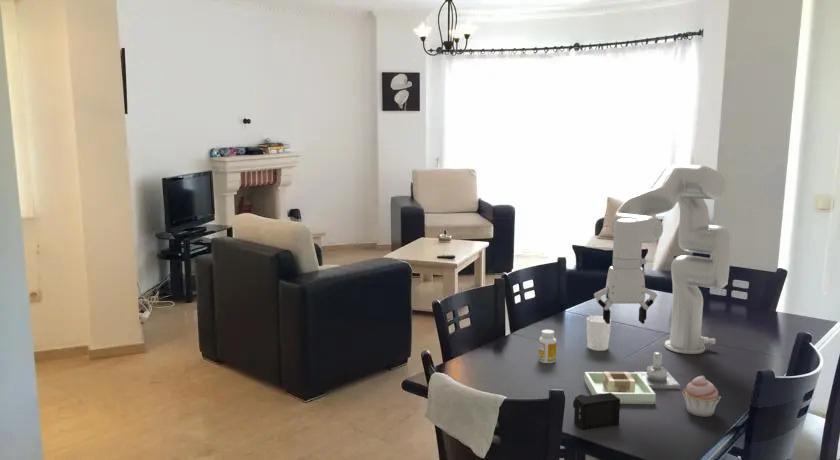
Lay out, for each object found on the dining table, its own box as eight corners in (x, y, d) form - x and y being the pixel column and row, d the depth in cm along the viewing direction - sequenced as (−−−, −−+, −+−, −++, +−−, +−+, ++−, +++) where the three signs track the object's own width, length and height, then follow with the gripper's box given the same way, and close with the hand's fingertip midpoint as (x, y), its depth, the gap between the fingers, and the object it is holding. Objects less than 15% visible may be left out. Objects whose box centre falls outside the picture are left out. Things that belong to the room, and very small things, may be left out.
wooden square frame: (602, 384, 189) (603, 371, 189) (627, 385, 189) (628, 371, 188) (610, 397, 181) (611, 383, 180) (636, 397, 181) (637, 383, 180)
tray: (637, 381, 193) (638, 372, 193) (655, 403, 178) (655, 394, 177) (584, 381, 194) (584, 371, 193) (596, 403, 178) (597, 393, 178)
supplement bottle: (556, 358, 212) (557, 329, 211) (554, 364, 207) (555, 334, 206) (540, 356, 214) (540, 328, 212) (537, 362, 209) (538, 333, 207)
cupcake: (727, 418, 169) (730, 381, 168) (695, 421, 167) (697, 384, 166) (704, 403, 178) (707, 367, 177) (673, 406, 176) (676, 370, 175)
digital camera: (607, 416, 171) (608, 390, 170) (619, 425, 166) (620, 398, 165) (571, 421, 168) (572, 395, 167) (582, 430, 163) (583, 403, 162)
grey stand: (667, 375, 198) (669, 347, 196) (679, 389, 188) (681, 359, 186) (634, 375, 198) (635, 347, 196) (644, 388, 188) (645, 359, 187)
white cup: (610, 352, 218) (612, 323, 217) (586, 350, 220) (587, 321, 218) (608, 344, 226) (610, 316, 224) (585, 343, 227) (586, 315, 226)
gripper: (653, 259, 187) (650, 318, 190) (592, 260, 187) (590, 318, 190) (662, 265, 179) (659, 326, 182) (598, 266, 180) (596, 326, 183)
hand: (624, 322), depth 186 cm, fingers open, 9 cm apart
